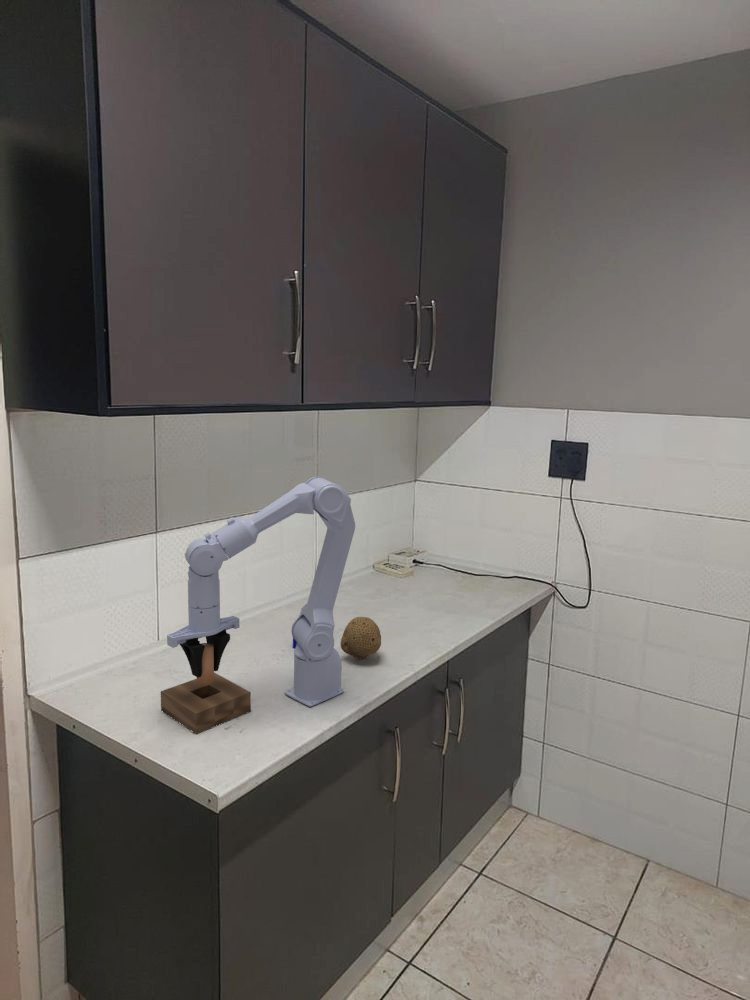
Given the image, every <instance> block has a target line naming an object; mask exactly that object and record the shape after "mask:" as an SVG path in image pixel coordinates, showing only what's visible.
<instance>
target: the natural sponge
mask: <svg viewBox="0 0 750 1000" xmlns="http://www.w3.org/2000/svg"><path fill="white" fill-rule="evenodd" d="M381 645H382V633H381V630H380V628H379V625H378V624H377V623H376V622H375V621H374V619H371V617H366V616H356V617H354V618H352V619H351V620H349V622H348V623H347V625H346V626H345V628H344V631H343V634H342V636H341V639H340V648H341V650H342V651H343V652H344V653H345V654H348V655H349V656H351V657H353V658H355V659H357V660H364V659H367V657H369V656H372V655H374V654H376V653H377V652H378V651H379V650H380V648H381Z"/></svg>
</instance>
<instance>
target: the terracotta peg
mask: <svg viewBox="0 0 750 1000" xmlns="http://www.w3.org/2000/svg"><path fill="white" fill-rule="evenodd" d="M200 644H202V645H204V646H205V648H204V651H203V656H202V674H201V677H196V679H197V683H198V684H201V685H207V684H211V683H213V682H214V673H215V671H214V645H213V644H211V643H207V642H202V643H201V642H200Z"/></svg>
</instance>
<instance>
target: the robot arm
mask: <svg viewBox="0 0 750 1000" xmlns="http://www.w3.org/2000/svg"><path fill="white" fill-rule="evenodd" d="M351 501H352V499H351V497H350V496H349V495H348V493H347V492H346V490H345V489H344V488H343V487H342V486H341V485H340V484H338V483H334V482H332V481H330V480H328V479H327V478H325V477H323V476H314V477H310V478H309V479H308V480H306V482H302V483H299V484H297V485H296V486H295V487H293V488H292V489H291V490H289V491H288V492H286V493H285V494H284V495H281V496H280V497H279V498H278V499H275V501H273V502H272V503H270V504H269V505H267V506H266V507H265V506H264V508H262V509H261V510H259V511H258V512H256V513H255V514H254V515H252V516H250V517H248V518H247V517H242V516H238V517H236V518H234V517H230V518H229V519H227V520H226V523H227V524H225V525H223V526H221V527H220V528H218V529H216V530H215V531H213V532H211V533H210V532H209V531H208V532H207V533H205V534H204V535H203V536H204V538H197V539H194V540H193V541H191V542H190V543H189V544H188V547H187V548H186V550H185V552H184V557H185V560H186V562H187V564H188V565H189V566H188V572H187V576H188V580H187V604H188V607H187V608H188V625H186V626H184V627H182V628H180V629H178V630H176V631H174V632H172V633H168V634H167V635H166V644H167V646H169V647H171V648H172V649H175V648H177V647H179V646H180V648H181V649H182V651H183V652H184V654H185V656H186V658H187V661H188V663H189V666H190V670H191V671H190V672H191V675H193V676H195V677H196V678H197V677H201V674H202V656H203V651H204V648H205V646H204V645H202V644H201V641H200V640H199V639H201V638H204V637H205V640H206V641H205V642H206V643H211V644H213V645H214V672H218V671H219V668H220V664H221V660H222V657H223V655H224V654H223V653H224V651H225V649H226V647H227V645H228V644H229V642H230V640H231V634H230V633H228V632H227V630H232V629H234V630H236V629H239V628H240V624H241V623H240V618H239V617H237V616H235V615H231V616H228V617H221V599H220V598H221V594H220V593H221V589H220V588H221V587H220V586H221V584H220V575H219V574H220V573H219V571H220V569H221V568H222V566H223V563H224V562H225V561H228V560H231V558H233V557H234V556H236V555H238V554H239V553H241V552H243V551H244V550H246V549H247V548H249V547H251V546H252V545H254V544H256V542H257V539H258V536H259V534H261V533H262V532H264V531H266V530H268V529H269V528H271V527H273V526H275V525H276V524H278V523H281V522H282V521H284V520H286V519H288V518H290V517H291V516H294V515H295V514H303V515H314V514H315V513H316V514H318V516H319V517H320V520H322V522H323V524H324V525H325V526H326V534H325V536H324V540H323V543H322V548H321V552H320V555H319V559H318V561H317V566H316V569H315V573H314V576H313V580H312V583H311V589H310V590H309V591H310V592H309V596H308V600H307V602H306V604H304V605H303V606H302V608H300V609H301V610H300V613H299V615H298V617H297V618H296V619H295V620H294V621H293V623H292V626H291V636H292V639H293V638H294V639H295V640H296V641H297V645H296V648H295V649H293V687H292V688H290V689H288V690H285V691H284V695H286V696H288V697H290V699H291V698H292V699H293V700H295V701H297V702H299V703H300V704H303V705H305V706H307V707H309V708H310V707H314V706H316V705H318V704H321V703H322V702H324V701H325V702H326V701H328V700H330V699H331V698H334V697H337V696H338V695H340V694H343V693H344V692H345V690H344V689H343V688H342V670H343V669H342V668H343V667H342V666H343V665H342V658H341V655H340V653H339V652H338V650H337V649H336V648H334V647H335V637H334V630H335V618H334V613H333V612H334V607H335V603H336V600H337V597H338V593H339V589H340V585H341V581H342V578H343V574H344V570H345V567H346V563H347V561H348V560H347V559H348V555H349V552H350V548H351V545H352V541H353V538H354V534H355V531H356V521H355V517H354V515H353V514H354V513H353V511H352V505H351V503H352V502H351Z"/></svg>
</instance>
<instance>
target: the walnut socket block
mask: <svg viewBox="0 0 750 1000" xmlns="http://www.w3.org/2000/svg"><path fill="white" fill-rule="evenodd" d="M251 693H252V692H251V691H249V690H247V689H245V687H242V686H240V685H238V684H237V683H235V682H233V681H231V680H229V679H227V678H225V677H224V676H222V675H220V674H218V673H216V672H214V682H213V683H211V684H207V685H201V684H198V683H197V678H195V679H191V680H189V681H186V682H183V683H181V684H176V685H174V686H171V687H168V688H166V689H164V690H161V691H160V710H161V712H162V711H163V712H162V713H164V714H165V713H166V714H165V715H167V716H168V715H169V716H168V717H170V718H171V717H172V718H171V719H173V720H174V719H175V720H174V721H175V722H177V721H178V722H177V723H179V722H180V723H181V724H180V723H179V724H180V725H182V724H183V725H184V726H183V725H182V726H183V727H185V726H186V727H187V728H186V727H185V728H186V729H188V730H189V729H190V730H189V731H191V730H192V731H193V732H192V731H191V732H192V733H194V732H195V733H196V734H195V733H194V734H195V735H198V734H201V733H203V732H205V731H204V730H206V729H208V730H210V729H212V728H211V727H213V726H215V727H217V726H220V725H222V724H224V722H225V723H227V722H230V721H232V720H234V719H237V718H238V717H241V716H244V715H246V714H248V713H251V712H252V709H251V708H252V705H251V704H252V703H251V701H252V700H251V698H252V697H251ZM243 714H244V715H243ZM221 723H222V724H221ZM219 724H220V725H219ZM216 725H217V726H216ZM209 728H210V729H209ZM213 728H214V727H213ZM202 731H203V732H202ZM206 731H207V730H206ZM200 732H201V733H200ZM197 733H198V734H197Z"/></svg>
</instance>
